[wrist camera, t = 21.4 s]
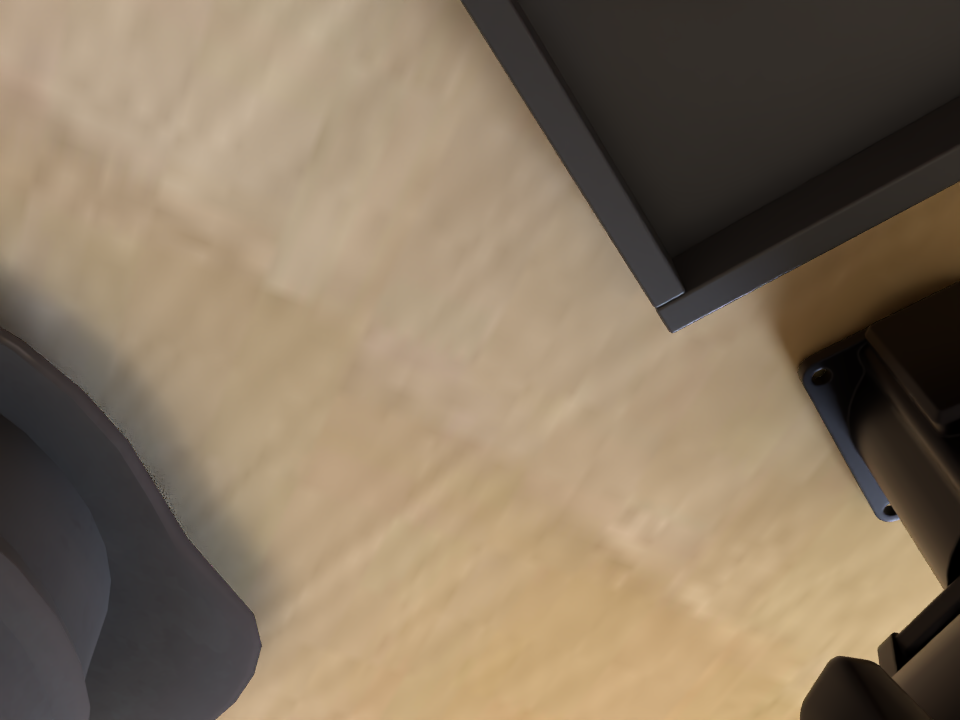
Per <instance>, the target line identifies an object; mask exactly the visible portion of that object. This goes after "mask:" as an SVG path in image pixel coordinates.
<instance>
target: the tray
mask: <svg viewBox="0 0 960 720" xmlns="http://www.w3.org/2000/svg"><path fill="white" fill-rule="evenodd" d="M460 1H461V2H462V4H463V5H464V7H465V9H466V10H467V12H468V13H469V15H470V16H471V18H472V20H473V21H474V23H475V24H476V26H477V28H478V29H479V31H480V32H481V34H482V36H483V37H484V39H485V40H486V42H487V43H488V45H489V47H490V48H491V50H492V51H493V53H494V55H495V56H496V58H497V59H498V61H499V62H500V64H501V66H502V67H503V69H504V70H505V72H506V74H507V75H508V77H509V78H510V80H511V82H512V83H513V85H514V86H515V88H516V89H517V91H518V93H519V94H520V96H521V97H522V99H523V101H524V102H525V104H526V105H527V107H528V108H529V110H530V112H531V113H532V115H533V116H534V118H535V120H536V121H537V123H538V124H539V126H540V128H541V129H542V131H543V132H544V134H545V135H546V137H547V139H548V140H549V142H550V143H551V145H552V147H553V148H554V150H555V151H556V153H557V154H558V156H559V158H560V159H561V161H562V162H563V164H564V166H565V167H566V169H567V170H568V172H569V174H570V175H571V177H572V178H573V180H574V181H575V183H576V185H577V186H578V188H579V189H580V191H581V193H582V194H583V196H584V197H585V199H586V200H587V202H588V204H589V205H590V207H591V208H592V210H593V212H594V213H595V215H596V216H597V218H598V220H599V221H600V223H601V224H602V226H603V227H604V229H605V231H606V232H607V234H608V235H609V237H610V239H611V240H612V242H613V243H614V245H615V246H616V248H617V250H618V251H619V253H620V254H621V256H622V258H623V259H624V261H625V262H626V264H627V266H628V267H629V269H630V270H631V272H632V273H633V275H634V277H635V278H636V280H637V281H638V283H639V285H640V286H641V288H642V289H643V291H644V292H645V294H646V296H647V297H648V299H649V300H650V302H651V304H652V305H653V306H654V307H655V309H656V311H657V313H658V315H659V316H660V318H661V319H662V321H663V323H664V324H665V326H666V327H667V329H668V330H669V332H671V333H675V332H677V331H678V330H680V329H682V328H684V327H686V326H688V325H690V324H692V323H694V322H695V321H697V320H699V319H701V318H703V317H705V316H707V315H709V314H710V313H712V312H714V311H716V310H718V309H720V308H722V307H724V306H726V305H727V304H729V303H731V302H733V301H735V300H737V299H739V298H741V297H743V296H744V295H746V294H748V293H750V292H752V291H754V290H756V289H758V288H759V287H761V286H763V285H765V284H767V283H769V282H771V281H773V280H775V279H776V278H778V277H780V276H782V275H784V274H786V273H788V272H790V271H791V270H793V269H795V268H797V267H799V266H801V265H803V264H805V263H807V262H808V261H810V260H812V259H814V258H816V257H818V256H820V255H822V254H824V253H825V252H827V251H829V250H831V249H833V248H835V247H837V246H839V245H840V244H842V243H844V242H846V241H848V240H850V239H852V238H854V237H856V236H857V235H859V234H861V233H863V232H865V231H867V230H869V229H871V228H872V227H874V226H876V225H878V224H880V223H882V222H884V221H886V220H888V219H889V218H891V217H893V216H895V215H897V214H899V213H901V212H903V211H904V210H906V209H908V208H910V207H912V206H914V205H916V204H918V203H920V202H921V201H923V200H925V199H927V198H929V197H931V196H933V195H935V194H937V193H938V192H940V191H942V190H944V189H946V188H948V187H950V186H952V185H953V184H955V183H957V182H959V181H960V0H460Z"/></svg>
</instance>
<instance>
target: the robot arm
mask: <svg viewBox="0 0 960 720" xmlns="http://www.w3.org/2000/svg"><path fill="white" fill-rule="evenodd" d="M821 369H826V371H825V373H824V374H823V375H821V376H819V377H812V376H813V374H814V373H815V372H817V371H818V370H821ZM798 376H799V379H800V381H801V382H802V384H803V386H804V388H805V390H806V391H807V393H808V395H809V397H810V399H811V400H812V402H813V404H814V406H815V408H816V409H817V411H818V413H819V415H820V417H821V418H822V420H823V422H824V424H825V426H826V427H827V429H828V431H829V433H830V435H831V436H832V438H833V440H834V442H835V443H836V445H837V447H838V449H839V451H840V452H841V454H842V456H843V458H844V460H845V461H846V463H847V465H848V467H849V469H850V470H851V472H852V474H853V476H854V478H855V479H856V481H857V483H858V485H859V487H860V488H861V490H862V492H863V494H864V496H865V497H866V499H867V501H868V503H869V505H870V506H871V508H872V510H873V512H874V513H875V515H876V516H877V517H878V518H879V519H880V520H882V521H885V522H892V521H896V520H899V519H900V520H901V522H902V523H903V525H904V526H905V528H906V530H907V531H908V533H909V534H910V536H911V538H912V539H913V541H914V542H915V544H916V546H917V547H918V549H919V550H920V552H921V554H922V555H923V557H924V558H925V560H926V562H927V563H928V565H929V566H930V568H931V570H932V571H933V573H934V574H935V576H936V578H937V579H938V581H939V582H940V584H941V586H942V587H943V589H944V591H943V592H942V593H941V594H940V595H939V596H937V597H936V598H935V599H934V600H933V601H932V602H931V603H930V604H929V605H928V606H927V607H926V608H925V609H924V610H923V611H922V612H921V613H920V614H919V615H918V616H917V617H916V618H915V619H914V620H913V621H912V622H911V623H910V624H909V625H907V626H906V627H905V628H904V629H903V630H902V631H901V632H900V633H892V634H891V635H890V636H889V637H888V638H887V639H886V640H885V641H884V642H883V643H882V644H881V645H880V646H879V647H878V657H879V664H880V666H879V665H877V664H876V663H874V662H872V661H869V660H864V659H858V658H851V657H845V656H837V657H835V658H833V659H831V660H830V661H829V662H828V663H827V665H826V666H825V668H824V670H823V671H822V673H821V674H820V676H819V677H818V679H817V680H816V682H815V683H814V685H813V687H812V688H811V690H810V691H809V693H808V694H807V696H806V697H805V699H804V701H803V704H802V707H801V712H800V720H960V281H959V282H957V283H955V284H953V285H951V286H949V287H947V288H945V289H943V290H941V291H939V292H937V293H935V294H933V295H931V296H929V297H927V298H925V299H923V300H921V301H919V302H917V303H915V304H913V305H910V306H908V307H906V308H904V309H902V310H900V311H898V312H896V313H894V314H892V315H890V316H888V317H886V318H884V319H882V320H880V321H878V322H876V323H874V324H872V325H871V326H870V327H868V328H866V329H864V330H862V331H860V332H858V333H856V334H854V335H852V336H850V337H847V338H845V339H843V340H841V341H839V342H837V343H835V344H833V345H831V346H829V347H827V348H825V349H823V350H821V351H819V352H817V353H815V354H813V355H811V356H809V357H808V358H806V359H805V360H803V362H802V363H801V364H800V366H799V369H798ZM888 504H891V505H890V506H887V505H888ZM885 506H886V507H885Z"/></svg>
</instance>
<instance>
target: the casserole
mask: <svg viewBox="0 0 960 720" xmlns="http://www.w3.org/2000/svg"><path fill="white" fill-rule="evenodd" d="M261 647H262V644H261V640H260V636H259V632H258V628H257V625H256V621H255V617H254V614H253V613H252V611H251V610H250V609H249V608H248V607H247V606H246V605H245V603H244V602H243V601H242V600H241V599H240V598H239V597H238V595H237V594H236V593H235V592H234V591H233V590H232V589H231V587H230V586H229V585H228V584H227V583H226V582H225V581H224V580H223V578H222V577H221V576H220V575H219V574H218V573H217V572H216V570H215V569H214V568H213V567H212V566H211V565H210V564H209V562H208V561H207V560H206V559H205V558H204V557H203V556H202V554H201V553H200V552H199V551H198V550H197V549H196V548H195V546H194V545H193V544H192V543H191V542H190V541H189V540H188V538H187V537H186V535H185V533H184V532H183V530H182V528H181V527H180V525H179V523H178V522H177V520H176V518H175V517H174V515H173V514H172V512H171V510H170V509H169V507H168V505H167V504H166V502H165V500H164V499H163V497H162V495H161V494H160V492H159V490H158V489H157V487H156V485H155V484H154V482H153V481H152V479H151V477H150V476H149V474H148V472H147V471H146V469H145V467H144V466H143V464H142V463H141V461H140V459H139V458H138V456H137V454H136V453H135V451H134V449H133V448H132V446H131V445H130V443H129V441H128V440H127V439H126V438H125V437H124V436H123V435H122V434H121V432H120V431H119V430H118V429H117V428H116V427H115V426H114V425H113V423H112V422H111V421H110V420H109V419H108V418H107V417H106V416H105V415H104V413H103V412H102V411H101V410H100V409H99V408H98V407H97V406H96V404H95V403H94V402H93V401H92V400H91V399H90V398H89V397H88V396H87V394H86V393H85V392H84V391H83V390H82V389H81V388H79V387H78V386H77V385H76V384H75V383H73V382H72V381H71V380H70V379H69V378H67V377H66V376H65V375H64V374H63V373H61V372H60V371H59V370H58V369H56V368H55V367H54V366H53V365H52V364H50V363H49V362H48V361H47V360H46V359H44V358H43V357H42V356H41V355H40V354H38V353H37V352H36V351H35V350H34V349H32V348H31V347H30V346H29V345H27V344H26V343H25V342H24V341H22V340H21V339H19V338H18V337H16V336H14V335H13V334H11V333H9V332H8V331H6V330H5V329H3V328H1V327H0V720H215V719H217V718H218V717H219V716H220V715H221V714H222V713H223V712H225V711H226V710H227V709H228V708H229V707H230V706H231V705H233V704H234V703H235V702H236V700H237V699H238V697H239V696H240V694H241V693H242V691H243V690H244V688H245V687H246V685H247V684H248V683H249V681H250V680H251V678H252V677H253V675H254V673H255V669H256V665H257V661H258V658H259V654H260V650H261Z"/></svg>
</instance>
